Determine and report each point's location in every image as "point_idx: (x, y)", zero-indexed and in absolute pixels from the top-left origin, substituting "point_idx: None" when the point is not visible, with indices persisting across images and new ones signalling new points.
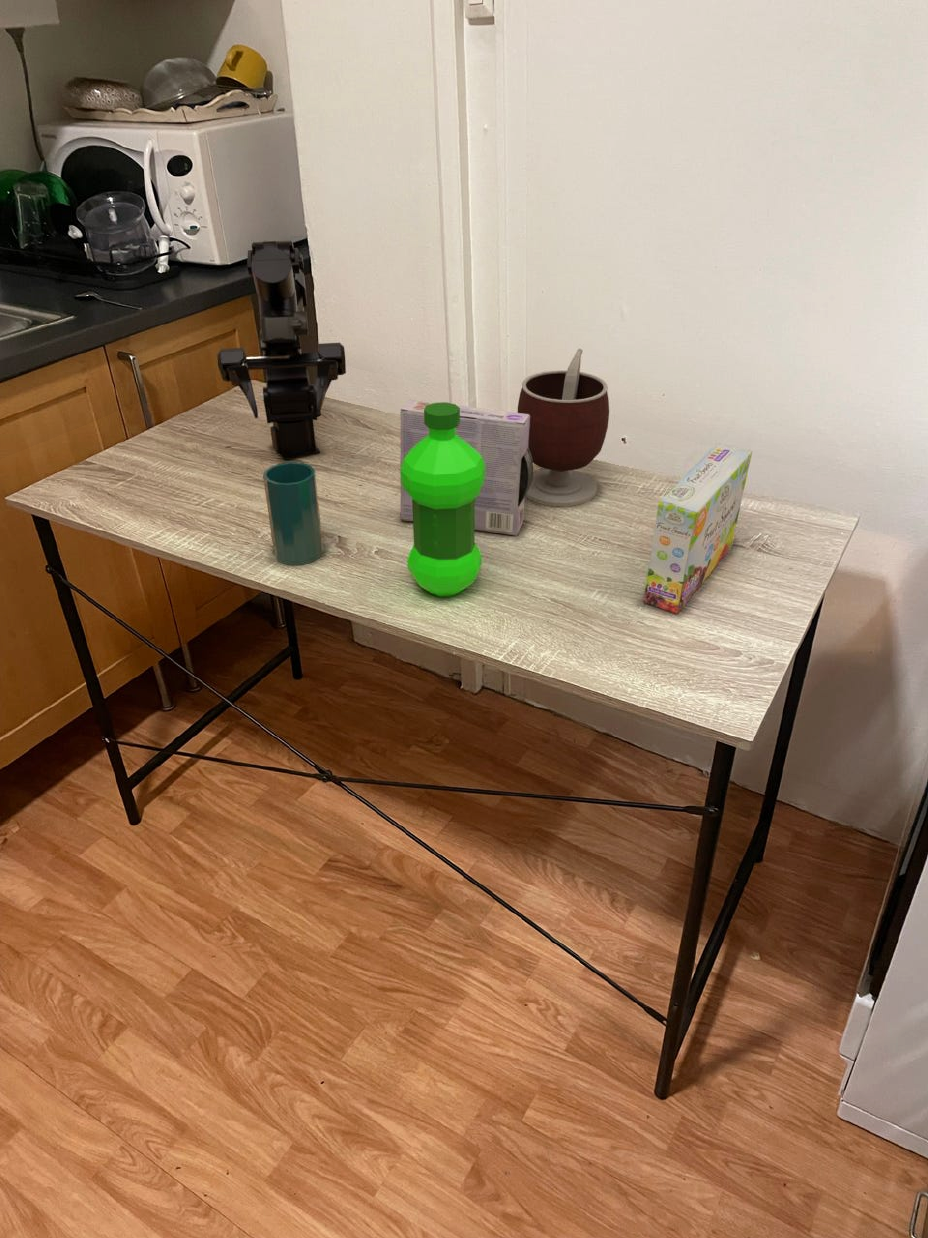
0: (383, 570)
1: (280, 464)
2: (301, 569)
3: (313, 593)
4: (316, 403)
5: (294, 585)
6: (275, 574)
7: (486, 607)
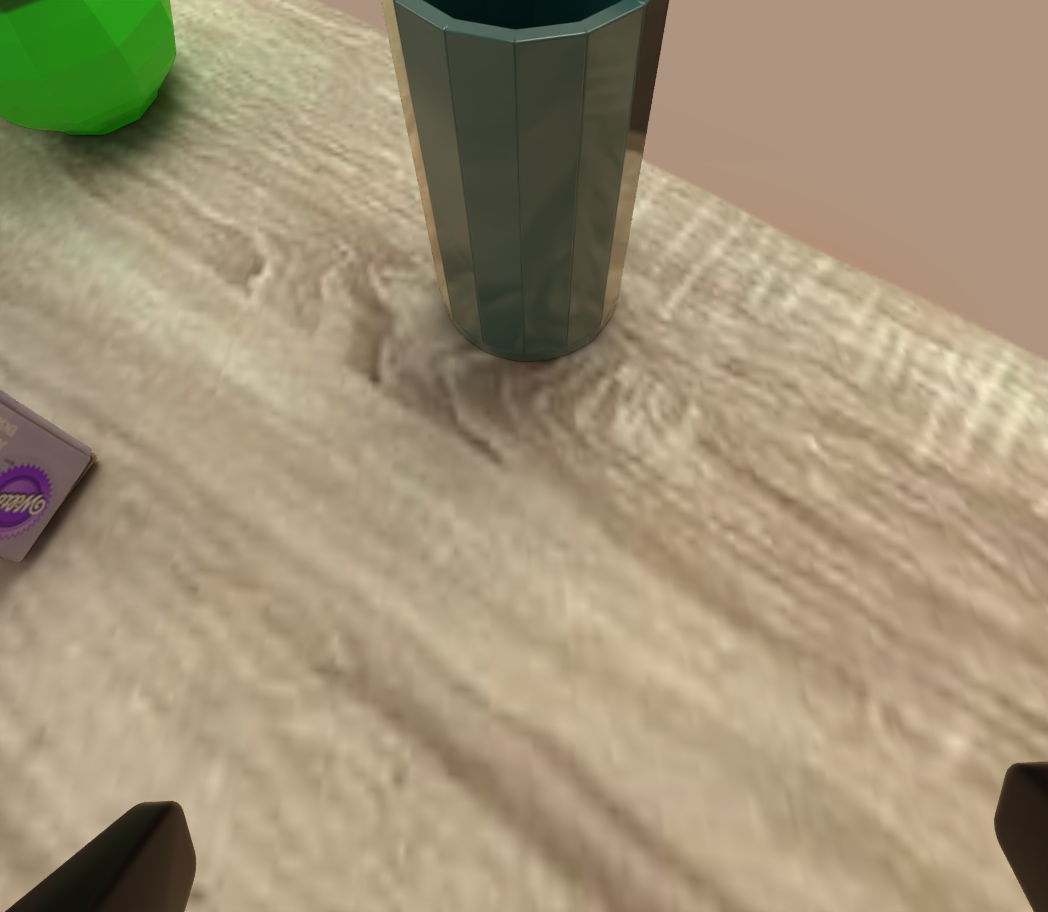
0: (257, 175)
1: (584, 21)
2: None
3: None
4: (111, 886)
5: None
6: None
7: None
